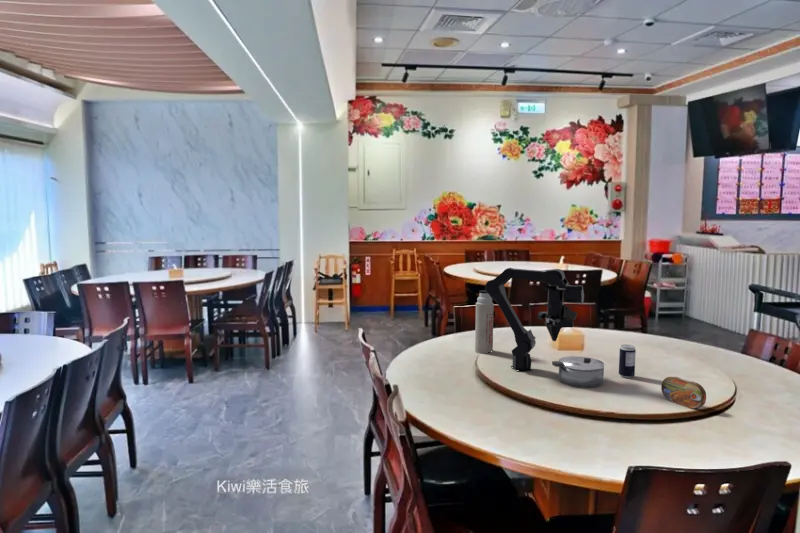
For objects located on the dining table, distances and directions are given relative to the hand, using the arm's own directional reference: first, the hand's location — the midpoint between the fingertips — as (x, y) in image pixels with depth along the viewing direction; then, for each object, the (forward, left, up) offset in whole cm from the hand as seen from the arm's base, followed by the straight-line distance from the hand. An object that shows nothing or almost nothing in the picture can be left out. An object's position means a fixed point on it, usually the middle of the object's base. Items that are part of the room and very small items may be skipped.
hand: (554, 341), depth 212 cm
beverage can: (+26, -9, -13) cm, 31 cm away
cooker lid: (+4, -11, -7) cm, 14 cm away
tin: (+26, -40, -13) cm, 50 cm away
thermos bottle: (-15, +38, -13) cm, 43 cm away
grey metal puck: (+5, -11, -13) cm, 18 cm away
